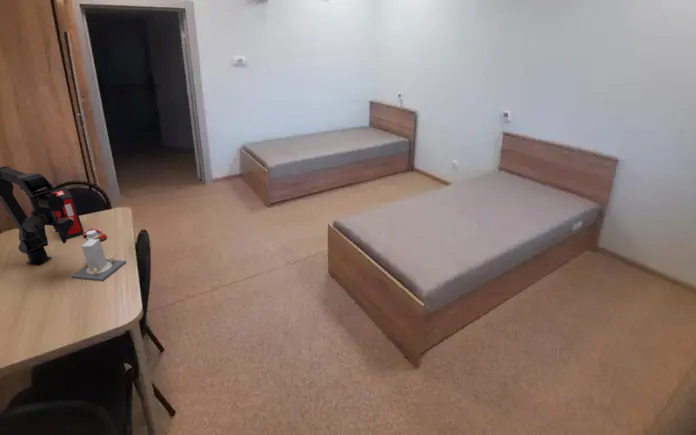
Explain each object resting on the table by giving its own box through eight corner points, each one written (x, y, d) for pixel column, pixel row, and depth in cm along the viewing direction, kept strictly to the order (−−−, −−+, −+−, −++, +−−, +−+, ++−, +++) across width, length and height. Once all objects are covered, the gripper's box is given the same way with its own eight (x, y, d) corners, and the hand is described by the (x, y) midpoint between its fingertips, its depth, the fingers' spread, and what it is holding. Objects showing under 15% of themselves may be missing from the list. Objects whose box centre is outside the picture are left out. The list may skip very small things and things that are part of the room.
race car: (109, 239, 191) (107, 231, 189) (98, 244, 186) (96, 236, 185) (93, 232, 196) (90, 225, 195) (82, 237, 192) (79, 230, 190)
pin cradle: (71, 277, 160) (68, 269, 158) (97, 260, 172) (94, 252, 171) (102, 281, 158) (100, 272, 156) (126, 262, 170) (124, 254, 169)
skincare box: (96, 264, 167) (89, 238, 162) (107, 263, 168) (99, 238, 162) (89, 271, 162) (80, 246, 157) (100, 271, 162) (92, 245, 157)
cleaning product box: (84, 234, 194) (72, 196, 186) (63, 240, 189) (49, 201, 180) (77, 223, 205) (65, 187, 197) (56, 229, 200) (43, 192, 191)
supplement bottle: (96, 251, 179) (91, 235, 176) (87, 250, 180) (82, 234, 176) (104, 246, 183) (99, 230, 180) (95, 245, 184) (90, 229, 181)
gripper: (1, 213, 148) (16, 250, 154) (45, 217, 145) (58, 254, 152) (28, 202, 158) (41, 236, 164) (69, 205, 155) (80, 240, 161)
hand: (54, 242), depth 160 cm, fingers open, 9 cm apart
